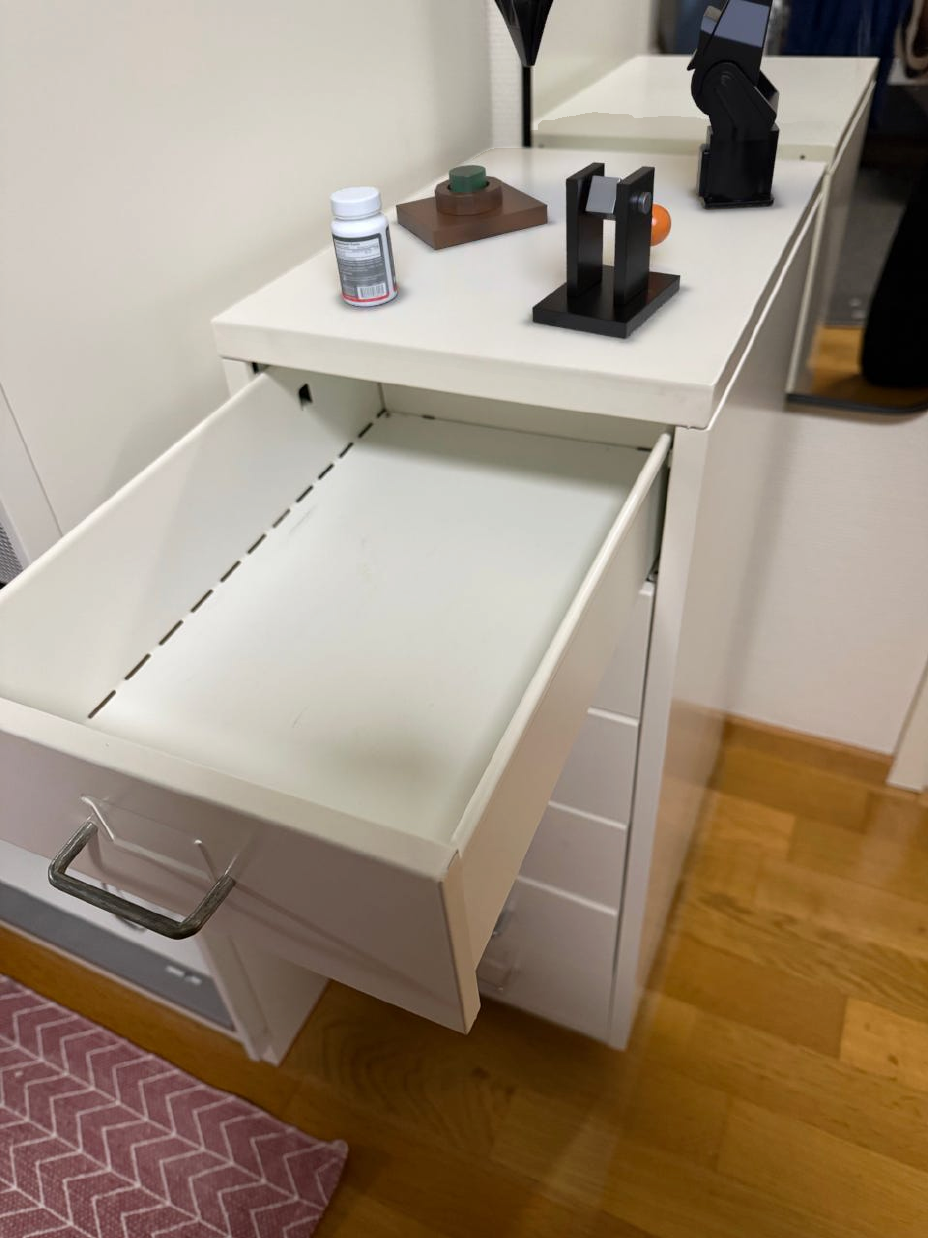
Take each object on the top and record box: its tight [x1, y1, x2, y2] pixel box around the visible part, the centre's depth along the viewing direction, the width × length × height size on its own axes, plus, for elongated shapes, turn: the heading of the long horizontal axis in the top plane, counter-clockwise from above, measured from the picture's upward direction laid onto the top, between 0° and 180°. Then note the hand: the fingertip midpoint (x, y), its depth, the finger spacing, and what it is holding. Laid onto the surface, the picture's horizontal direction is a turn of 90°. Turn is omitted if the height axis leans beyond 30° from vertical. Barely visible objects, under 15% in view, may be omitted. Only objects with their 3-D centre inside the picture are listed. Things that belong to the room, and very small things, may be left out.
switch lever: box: [586, 176, 672, 247], centre depth 68 cm, size 12×3×3 cm, turn 147°
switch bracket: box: [531, 161, 681, 339], centre depth 67 cm, size 10×8×10 cm
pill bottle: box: [329, 186, 399, 308], centre depth 73 cm, size 5×5×8 cm
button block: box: [395, 175, 548, 250], centre depth 87 cm, size 12×10×4 cm
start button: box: [448, 164, 487, 192], centre depth 85 cm, size 4×4×2 cm
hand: (528, 65), depth 84 cm, fingers closed
